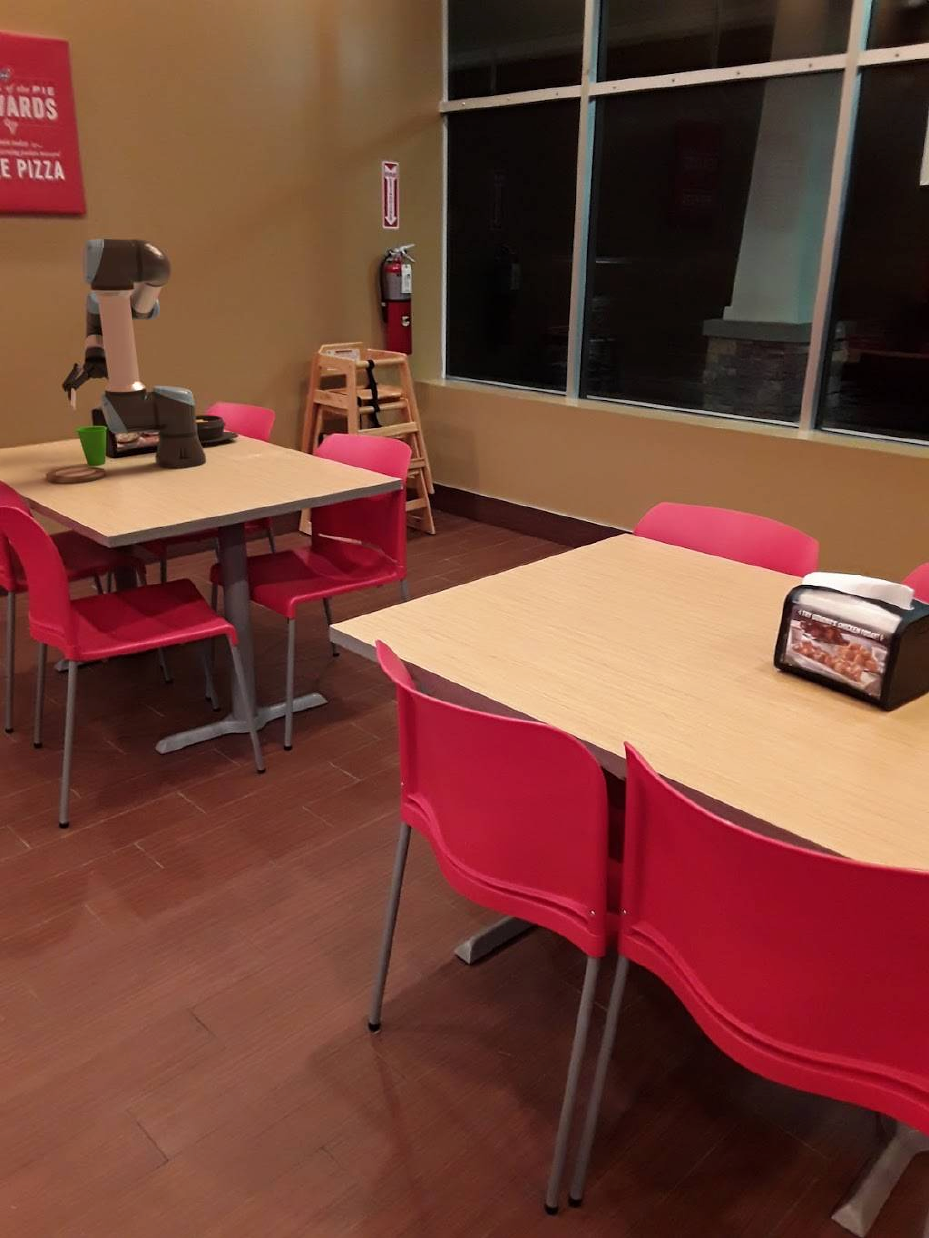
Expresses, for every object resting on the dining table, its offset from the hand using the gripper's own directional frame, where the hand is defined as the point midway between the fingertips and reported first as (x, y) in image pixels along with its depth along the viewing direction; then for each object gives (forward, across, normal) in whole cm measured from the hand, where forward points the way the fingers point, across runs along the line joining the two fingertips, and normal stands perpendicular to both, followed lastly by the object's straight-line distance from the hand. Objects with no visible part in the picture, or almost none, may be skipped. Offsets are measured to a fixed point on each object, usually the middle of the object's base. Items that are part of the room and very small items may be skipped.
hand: (95, 407), depth 296 cm
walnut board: (+32, +2, +10) cm, 33 cm away
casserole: (-1, -30, -24) cm, 38 cm away
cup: (+19, 0, -3) cm, 19 cm away
